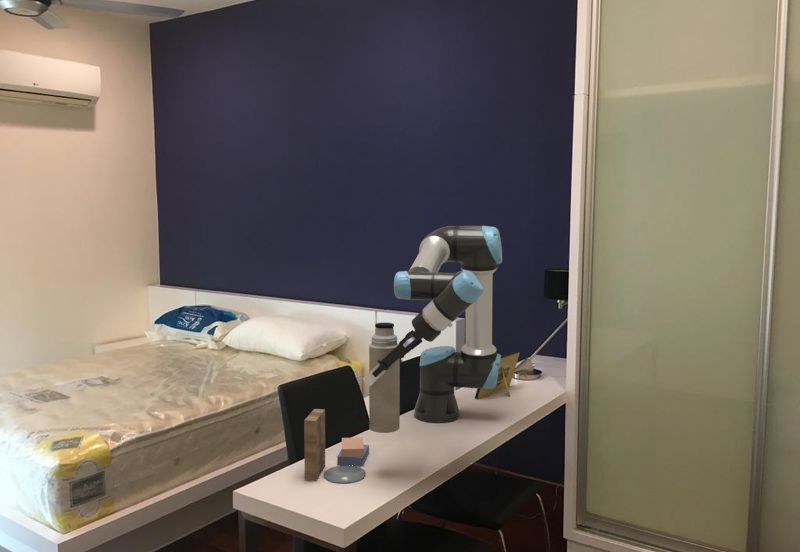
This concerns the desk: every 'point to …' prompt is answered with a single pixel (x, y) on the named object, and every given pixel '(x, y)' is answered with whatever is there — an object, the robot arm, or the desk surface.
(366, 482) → the desk surface
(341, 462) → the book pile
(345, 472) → the coaster
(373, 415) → the thermos bottle
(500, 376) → the picture frame
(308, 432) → the bookend
